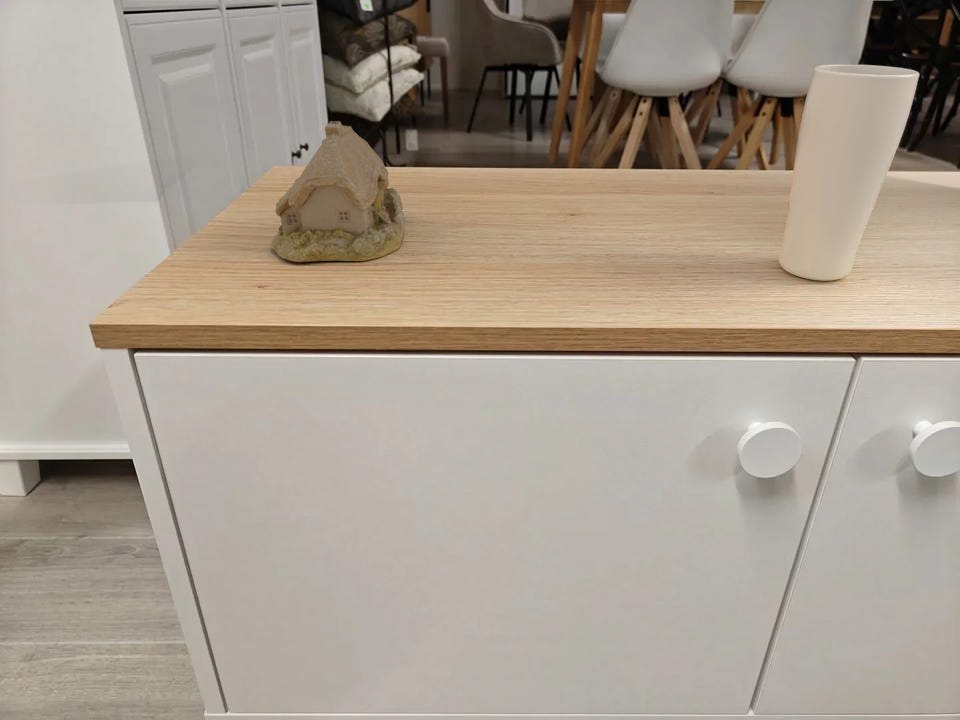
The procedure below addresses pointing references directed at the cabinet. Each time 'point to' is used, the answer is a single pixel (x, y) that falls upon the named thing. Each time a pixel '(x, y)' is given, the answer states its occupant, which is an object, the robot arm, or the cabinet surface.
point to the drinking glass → (842, 163)
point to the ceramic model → (340, 204)
